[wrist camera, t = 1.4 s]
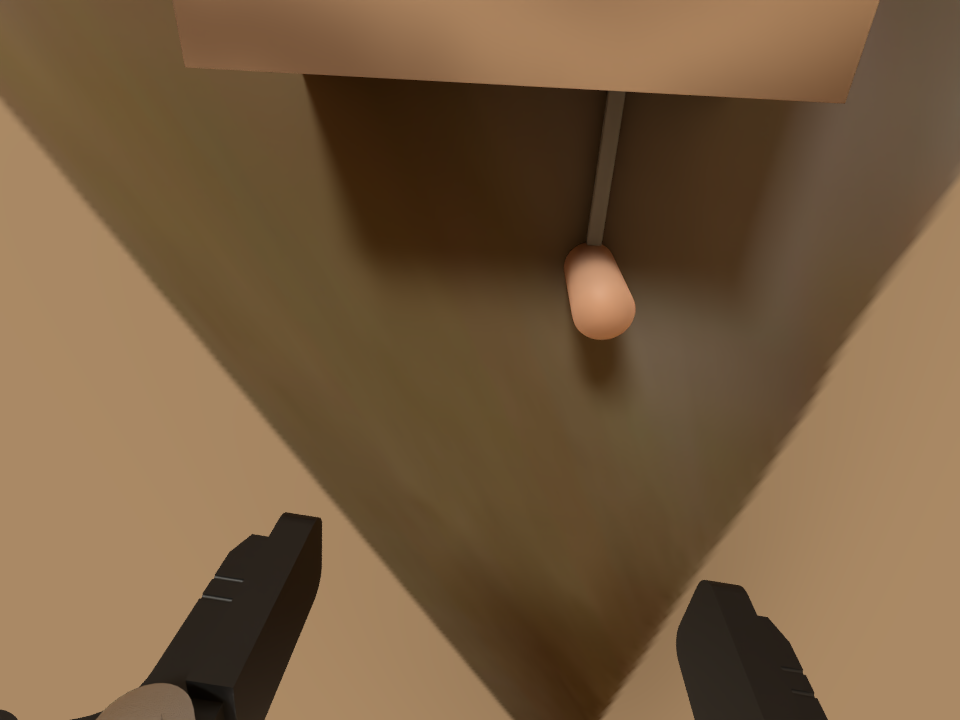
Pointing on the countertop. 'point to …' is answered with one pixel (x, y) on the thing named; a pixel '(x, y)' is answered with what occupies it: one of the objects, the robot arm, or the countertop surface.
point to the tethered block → (600, 249)
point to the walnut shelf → (545, 42)
